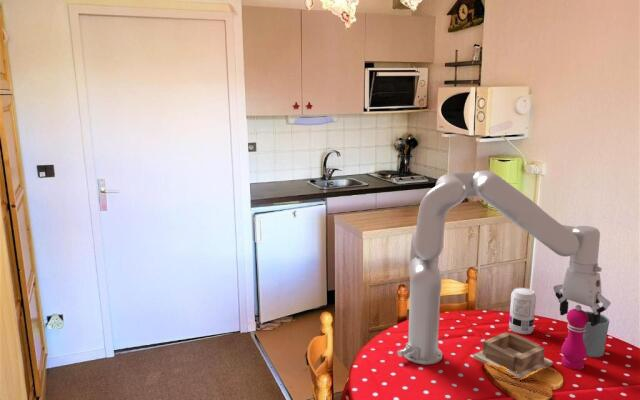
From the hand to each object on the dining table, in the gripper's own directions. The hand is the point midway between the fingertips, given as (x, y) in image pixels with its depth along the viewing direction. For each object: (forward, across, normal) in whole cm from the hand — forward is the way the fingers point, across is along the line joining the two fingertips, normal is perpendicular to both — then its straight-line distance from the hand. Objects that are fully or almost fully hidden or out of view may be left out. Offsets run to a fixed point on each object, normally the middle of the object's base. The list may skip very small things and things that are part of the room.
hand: (578, 319), depth 154 cm
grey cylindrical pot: (+16, +2, -12) cm, 20 cm away
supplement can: (+15, +24, -8) cm, 30 cm away
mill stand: (+15, +12, +14) cm, 24 cm away
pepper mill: (+16, 0, 0) cm, 16 cm away
